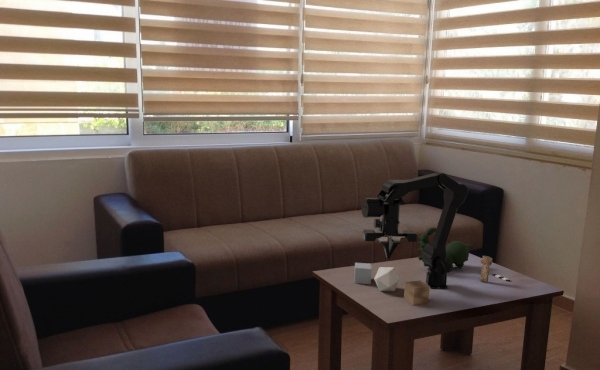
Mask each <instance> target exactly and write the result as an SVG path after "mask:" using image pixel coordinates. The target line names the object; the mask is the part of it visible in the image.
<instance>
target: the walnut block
mask: <svg viewBox="0 0 600 370" xmlns="http://www.w3.org/2000/svg"><path fill="white" fill-rule="evenodd" d="M430 289H431V288H430V287H429V286H428V284H427V283H426V282H423V281H422V280H414V281H413V280H411V281H405V282H404V289H403V290H404V292H403V293H404V294H403V299H404V300H406V301H407V302H408V301H409V302H408V303H410V304H411V305H412V306H416V305H423V304H428V303H429V299H430Z"/></svg>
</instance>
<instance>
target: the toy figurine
mask: <svg viewBox="0 0 600 370" xmlns="http://www.w3.org/2000/svg"><path fill="white" fill-rule="evenodd" d="M436 229H437V227H429V228H427V229H426V231H425V233H422V234H420V235H418V239H419V240H420V241H417V244H418V245H419V246H420V247H419V248H418V249H417V251H418V252H420V253H421V255H419V256H418V257H417V259H418V260H419V261H422V263H423V266H424V267H427V265H426V262H425V261H424V260H423V254H422V252H423V251H424V247H425V244H428V245H429V244H430V243H431V241H430V237H429V236H432V235H434V234H435V232H436ZM473 247H474V244H465V243H464V242H463V241H461V240H460V241H459V240H454V241H451V242H449V243H448V244H446V254H447V255H446V263H447V264H448V265H449V266H450V267H451V270H453V269H454V266H455V267H456V268H463V267H464V265H465V264H464V263H465V262H467V261H469V256H470V250H471V249H473ZM427 268H428V267H427Z"/></svg>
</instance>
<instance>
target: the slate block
mask: <svg viewBox="0 0 600 370" xmlns="http://www.w3.org/2000/svg"><path fill="white" fill-rule="evenodd" d="M353 274H354V276H353V277H354V280H353V281H354V284H364V285H365V284H366V285H371V283H372V263H364V262H354V273H353Z"/></svg>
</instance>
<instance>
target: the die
mask: <svg viewBox="0 0 600 370" xmlns="http://www.w3.org/2000/svg"><path fill="white" fill-rule="evenodd" d="M373 280H374V281H375V285H376V287H377V288H378V290H379V292H395V291H396V289H397V287H398V285H399V282H400V281H401V278H400V276H399V275H398V272H397V270H396V268H395V267H393V266H392V267H387V266H383V267H382V266H380V267H378V270H377V272H376V274H375V276H374V278H373Z"/></svg>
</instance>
